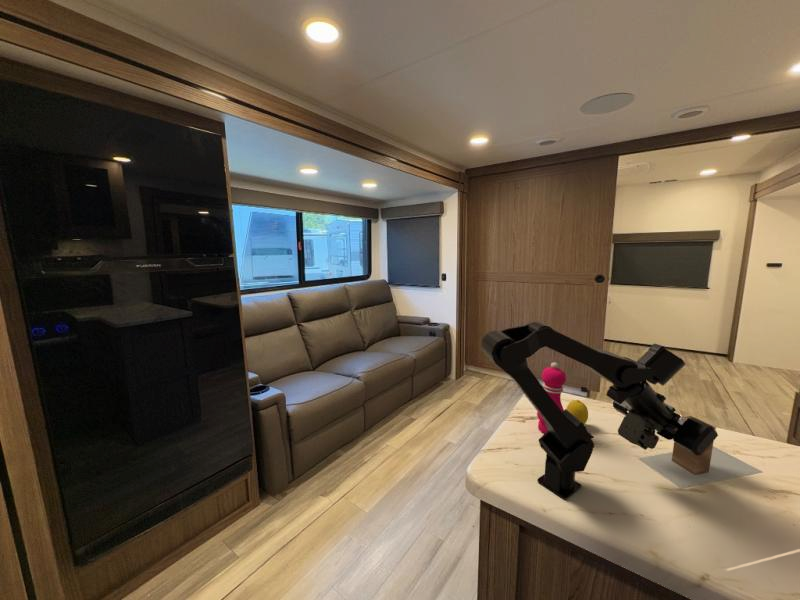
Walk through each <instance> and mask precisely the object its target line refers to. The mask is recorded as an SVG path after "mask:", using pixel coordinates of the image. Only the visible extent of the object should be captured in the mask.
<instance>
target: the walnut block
mask: <svg viewBox="0 0 800 600" xmlns="http://www.w3.org/2000/svg"><path fill="white" fill-rule="evenodd" d="M683 417H684V418H686V419H688V418H695V419H698V418H696V417H694V416H693V415H688V416H683ZM698 420H700V419H698ZM700 421H702V422H704V423H706V424H708V425H711V424H709V423H707V422H706V421H703V420H700ZM711 426H712V427H713V428H714V429H715V430H716V429H717V427H716V426H714V425H711ZM716 431H717V430H716ZM714 442H715V440H714V441H713V442H712V443H711V444H710V445H709V446H708V448H707V449H706V450H705V451H704V452H703V453H702V454H701V455H694V454H692V453H690V452H689V451H687V450H685V449H683V448H682V447H680V446H679V445H678V444H676V443H675V442H674V441H673V448H672V452H673V454H672V461H673V462H674V463H676V464H678V465H679V466H681V467H682V468H684V469H686V470H687V471H689V472H690V473H692V474H694V475H698V474H703V473H709V468H710V462H711V455H712V449H713V446H714Z"/></svg>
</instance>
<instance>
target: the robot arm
mask: <svg viewBox="0 0 800 600" xmlns="http://www.w3.org/2000/svg"><path fill="white" fill-rule="evenodd" d="M480 347H481V350H482V352H483V353H484V354H485V355H486V356H487V358H489V359H490V360H491V361H492V362H493V363H494V364H495V365H497V367H499V368H500V369H501V370H502V371H503V372H505V374H507V375H508V376H509V377H510V378H511V380H512V381H513V382H514V383H515V384H516V386H517V387H518V389H520V391H521V392H522V393H523V395H524V396H525V397H526V399H527V400H528V401H529V403H530V404H531V405H532V406H533V408H534V409H535V410H536V412H537V411H538V412H539V414H540V415H541V416H542V417H543V419H544V421H545V424H546V428H547V430H548V431H547V432H546V433H545V434H543V435H541V437H540V438H538V443H539V447H540V448H541V449H543V451H544V452H545V453H546V456H545V463H544V465H545V466H544V473H543V474H542V475H541V476H540V477H538V478H537V480H536V481H537V483H539V484H540V485H541V486H543V487H545V488H546V489H548V490H550V491H551V492H553V493H554V494H556V496H559V497H560V498H562V499H563V500H568V499H569V498H571V497H572V496H573V495H574V494H575V493H576V492H578V491H579V490H580V489H581V488H582V484H581V483H579V482H578V481H576V473H577V472H579V473H581V472H584V471H585V469H586V467H587V465H588V463H589V461H590V459H591V456H592V454H593V451H594V448H595V443H594V441H593V439H594V438H595V436H594V435H592V434H591V433H590V432H589V431H588V430H587V427H586V425H585V424H583V423H582V422H581V421H580V420H579V419H577V418H576V417H575V416H574V415H572V414H571V413H570V412H569V411H568V410H566V409H567V408H565V409H564V411H563V412H562V411H561V410H560V408H559V407H558V406H557V405H556V403H555V402H554V401H553V399H552V398H551V397H550V395H549V394H548V393H547V392H546V390H545V389H544V388H543V384H542V383H540V380H538V378H537V377H536V376H535V375H534V373H533V372H532V371H531V369H530V367H529V364H528V359H527V358H530V357H532V356H534V354H535V353H537V352H538V351H540V349H542V348H545V347H547V348H549V349H550V350H552V351H554V352H557V353H559V354H561V355H563V356H565V357H567V358H569V359H572V360H574V361H576V362H578V363H581V364H582V365H583V366H585V367H586V368H587V369H588V370H590V371H591V372H593V373H594V374H596V376H598V377H599V378H601V379H604V380H606V381H607V382H609V383H611V384H612V385H610V386H609V389H608V390H607V391H606V394H605V395H606V397H608V398H609V399H611V400H613V401H612V407H613V409H615V411H616V412H618V413H620V414H622V415H624V417H623V419H622V421H621V423H620V425H619V426H618V429H617V433H618V435H619V436H620V437H622V438H624V439H625V440H626V441H628V442H629V443H631V444H634V445H635V446H638V447H639V448H642V449H643V450H644V451H645V450H648V448H649V449H651V450H653V449H655V448H656V446H657V444H658V442H659V439H660V438H659V436H660V437H662V438H664V439H666V440H668V441H671V440H673V443H674V442H675V443H676V444H678V445H679V446H680V447H682V448H683V449H685V450H687V451H689V452H690V453H692V454H694V455H701V454H702V453H703V452H704V451H705V450H706V449H707V448H708V446H709V445H710V444H711V443H712V442H713V441H714V442H715V440H716V438H717V437H718V436H719V434H718V431H717V430H715V429H714V428H713V427H712V426H713V425H712V426H711V424H710V425H708V424H709V423H707V422H705V421H703V420H701V421H700V419H699V420H698V418H697V419H695V418H696V417H694V418H688V419H686V418H684V417H685V416H682V415H680V414H678V413H677V412H676V408H675V407H674V406H672V405H669V404H667V403H665V401H666V399H667V398H666V397H665V395H663V394H661V393H658V392H656V391H655V390H654V389H653V387H652V386H651V385H650V384H652V385H656V386H657V384H659V385H660V386H663V387H664V386H665V385H666V384H667V383H668V382H669V381H670V380H672V378H673V377H674V376H675V375H677V373H678V372H680V371H681V370H682V369H683V368H684V367H685V366H686V362H685V360H683V358H681V357H680V356H677V355H676V354H675V353H673V352H672V351H670V350H668V349H667V348H666V347H665V346H664V345H661V344H657V343H653V344H652V345H651V346H650V347H649V348H648V350H647V351H646V352H645V353H644V354H643V355H641V356H640V357H639V358H638V360H637V361H636V360H634V359H632V358H629V357H626V356H621V355H619V354H617V353H616V354H615V353H614V352H611V351H608V350H604V349H602V348H601V349H600V348H595V347H590V346H588V345H585V344H584V343H581V342H580V341H578V340H575V339H573V338H571V337H569V336H568V335H565V334H563V333H561V332H558V331H556V330H555V329H553V328H552V327H551V326H549V325H547V324H544V323H542V322H540V321H534V322H530V323H527V324H524V325H520V326H519V325H518V326H513V327H509V328H508V327H507V328H505V329H502V330H491V331H489V332H488V333H486V334H484V336H483V338H482V340H481V344H480ZM649 383H650V384H649ZM702 421H703V422H702ZM704 422H705V423H704ZM706 423H707V424H706ZM658 435H659V436H658ZM714 442H713V443H714Z"/></svg>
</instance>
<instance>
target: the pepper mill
mask: <svg viewBox="0 0 800 600" xmlns="http://www.w3.org/2000/svg"><path fill="white" fill-rule="evenodd" d="M541 379H542V383H543V384H542V386H543V388H544V389H545V390H546V392H547V393H548V394H549V395H550V397H551V398H552V399H553V401H554V402H555V403H556V405H557V406H558V407H559V408H560V410H561V411H562V412H563V411H564V410H565V409H564V407H563V405H562V400H561V395H562V393H563V392H564V384H565V383H566V382H567V376H566V373H565V372H564V371H563V370H562V369H561V368H559V364H558V362H554V361H553V362H551V363H550V366H548V367H546V368H544V370H542V373H541ZM536 417H537V419H538V422H537V423H538V424H537V429H538V431H539V432H540V431H541V434H543V435H544V434H545V433H546V432H547V431H548V430H547V428H546V424H545V421H544V419H543V417H542V416H541V415H540V414H539V412H538V411H537V410H536Z"/></svg>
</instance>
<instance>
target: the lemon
mask: <svg viewBox="0 0 800 600" xmlns="http://www.w3.org/2000/svg"><path fill="white" fill-rule="evenodd" d="M565 409H566V410H568V411H569V412H570V413H571V414H572V415H574V416H575V417H576V418H577V419H579V420H580V421H581V422H582V423H583V424H584V425H585V424H586V423H588V420H589V410H588V407H587V405H586V404H585V403H584V402H583V401H580V399H576V400H571V401H569V402H568V404H567V406H566V408H565Z"/></svg>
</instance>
